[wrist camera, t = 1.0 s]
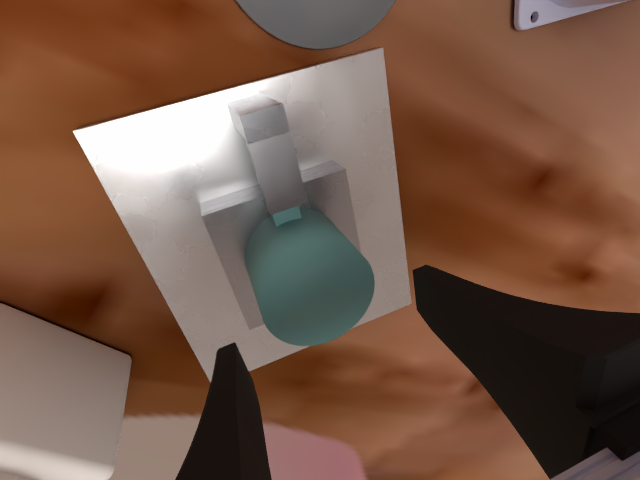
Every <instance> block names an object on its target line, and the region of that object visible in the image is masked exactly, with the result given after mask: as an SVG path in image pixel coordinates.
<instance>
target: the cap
mask: <svg viewBox="0 0 640 480" xmlns="http://www.w3.org/2000/svg"><path fill="white" fill-rule="evenodd" d="M245 264H246V269H247V272H248V275H249V278H250V282H251V285H252V288H253V291H254V294H255V297H256V300H257V304H258V307H259V310H260V313H261V316H262V319H263V322H264V324H265V326H266V327H267V329H268V330H269V332H270V333H271V334H272V335H273V336H275V337H276V338H278V339H279V340H281V341H283V342H285V343H288V344H291V345H297V346H313V345H319V344H323V343H326V342H329V341H332V340H334V339H336V338H338V337H340V336H341V335H343V334H345V333H346V332H347V331H349V330H350V329H351V328H352V327H354V326H355V325H356V324H357V323H358V322H359V320H360V319H361V318H362V317H363V315H364V314H365V313H366V311H367V309H368V308H369V305H370V303H371V301H372V298H373V294H374V288H375V280H374V274H373V270H372V268H371V266H370V264H369V262H368V261H367V259H366V258H365V257H364V256H363V255H362V254H361V253H360V252H359V251H358V250H357V249H356V247H355V246H354V245H353V244H352V243H351V242H350V241H349V240H348V239H347V238H346V237H345V235H344V234H343V233H342V232H341V231H340V230H339V229H338V228H337V227H336V226H335V225H334V224H333V222H332V221H331V220H330V219H329V218H327V217H326V216H325V215H323V214H322V213H320V212H318V211H315V210H312V209H308V208H299V206H296V207H293V208H290V209H287V210H284V211H282V212H279V213H276V214H273V215H271V216H270V217H268V218H267V219H266V220H264V221H263V222H262V223H261V224H260V225H259V226H258V227H257V228H256V229H255V231H254V232H253V234H252V235H251V237H250V239H249V241H248V244H247V247H246V252H245Z"/></svg>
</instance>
